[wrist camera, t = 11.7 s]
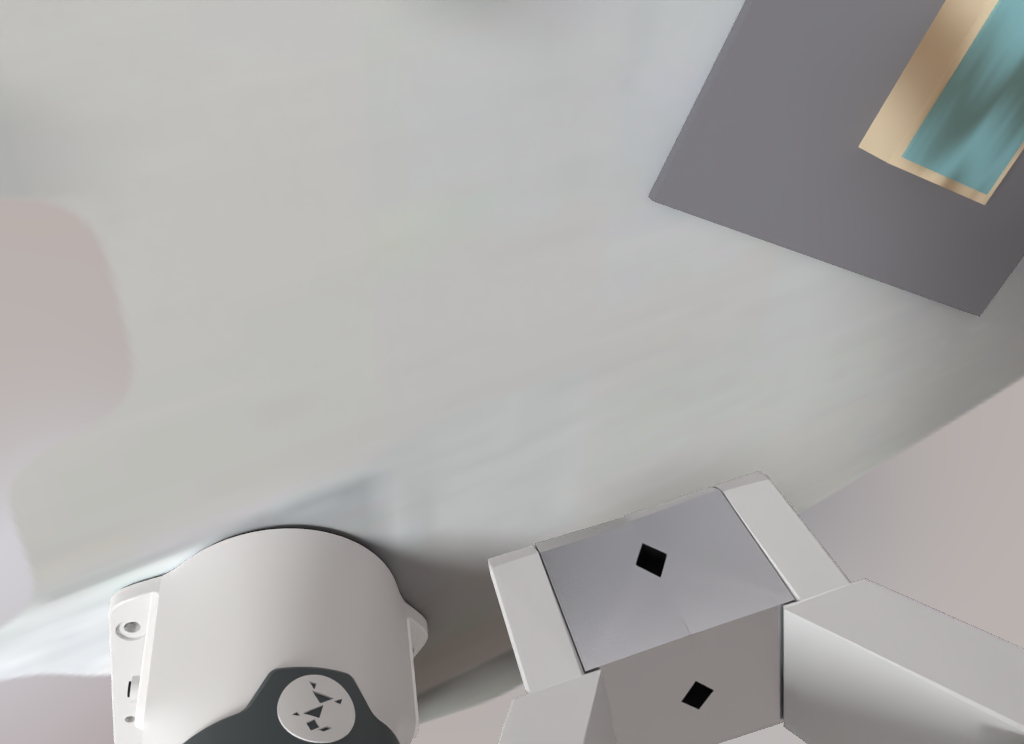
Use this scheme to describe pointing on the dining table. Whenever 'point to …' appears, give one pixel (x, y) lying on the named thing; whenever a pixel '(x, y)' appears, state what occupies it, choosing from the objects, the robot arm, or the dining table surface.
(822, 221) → the rubber mat
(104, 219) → the dining table surface
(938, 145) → the birch tile
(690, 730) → the robot arm
